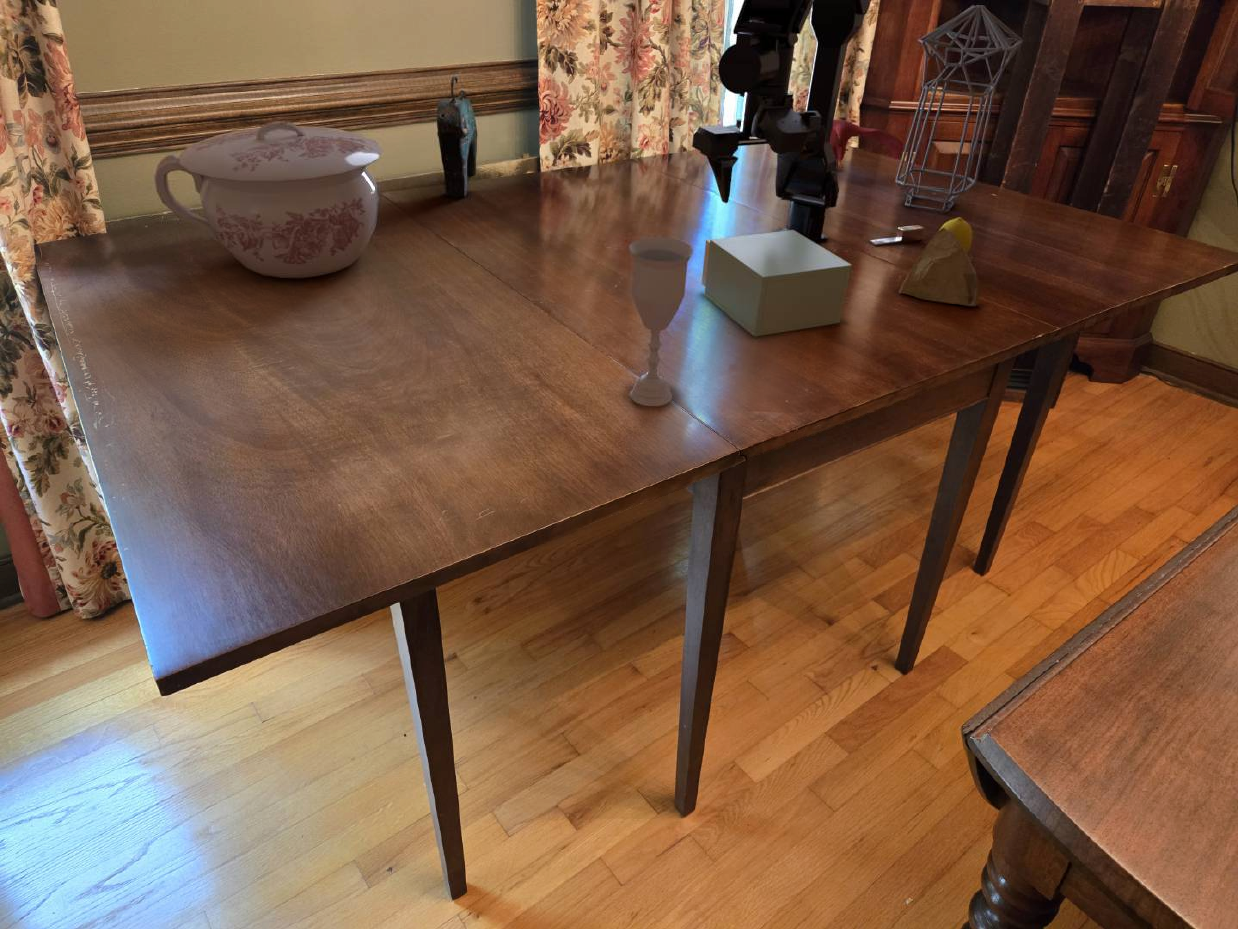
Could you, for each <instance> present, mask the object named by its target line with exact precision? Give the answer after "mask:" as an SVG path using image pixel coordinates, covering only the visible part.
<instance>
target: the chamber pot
mask: <svg viewBox="0 0 1238 929" xmlns="http://www.w3.org/2000/svg"><path fill="white" fill-rule="evenodd" d="M383 151H384V149H383V148H382V147H381V145H380V143H378V142H377V140H375V139H372V138H371V137H368V136H365V135H363V134H362V133H361V134H360V133H356V132H352V131H347V130H342V129H338V128H333V127H321V126H311V125H309V126H308V125H307V126H304V125H303V126H302V125H300V126H299V125H296V124H295V123H293V122H290V121H283V120H276V121H271V122H268V123H265V124H263V125H261V126H260V127H256V128H248V129H241V130H235V131H231V132H227V133H221V134H216V135H214V136H211V137H208V138H206V139H203V140H201V141H197V142H195V143H192V144H190V145H189V146H188V147H187V148H185V149H183V151H181V152H180V154H179V156H177V155H176V154H174V153H171V154H169V153H168V154H167V155H166V156H164V157H163V158H162V159H161V160H160V161H159V163H158V164H157V166H156V168H155V172H154V177H153V180H154V186H155V192H156V193H157V195H158V197H159V199H160V201H161V203H162V204H163V205H164V206H166V208H168V209H169V210H170V211H171V212H172V213H173V214H175V215H176V216H177V217H178V218H179V219H181V220H183V221H185V222H187V223H188V224H191V225H192V226H194V227H195V228H198V229H200V230H202V231H203V232H205V233H206V234H207V235H209V237H212V238H213V239H215V241H217V243H219V244H220V245H221V246H222V247H224V248H225V250H226V251H227V252H228V253H229V254H230V255H231V256H232V257H233V258H234V259H235V260H236V261H237V262H238V263H240V264H241V265H242V266H244V267H245V268H246V269H247V270H250V271H251V272H253V273H256V274H259V275H262V276H266V277H272V278H280V279H309V278H318V277H322V276H326V275H330V274H333V273H336V272H339V271H341V270H344V269H346V268H348V267H350V266H352V265H353V264H354V263H356V262H357V261H359V259H361V257H362V256H363V254H364V253H365V250H366V248H367V246H368V244H369V242H370V240H371V238H372V235H373V234H374V232H375V229H376V227H377V223H378V212H379V192H378V191H379V190H378V184H377V183H378V182H377V181H376V180H375V178H374V176H373V175H372V173H371V171H370V170H369V169H368V168H367V166H370V165H371V164H372V163H375V162H376V161H378V159H380V156H381V155H382V152H383ZM176 171H180V172H184V173H187V174H188V175H190V176H191V177H192V179H193V182H194V187H195V192H197V193H198V194H199V199H200V203H201V206H202V210H203V214H204V216H205V217H203V216H201V215H198V214H197V213H194V212H192V211H191V210H189V209H188V207H186V206H185V205H183V204H182V203H181V202H180V201H179V200H177V199H176V197H175V196H174V195H173V193H172V191H171V189H170V185H169V179H168V176H169V175H168V174H169V173H171V172H176Z"/></svg>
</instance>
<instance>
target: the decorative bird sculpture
mask: <svg viewBox="0 0 1238 929" xmlns="http://www.w3.org/2000/svg"><path fill="white" fill-rule="evenodd" d="M855 137H867V138H869V139H871V138H873V139H874V140H875V141H877V142H878V141H879V142H880V144H881V146H883V147H886V151H888V152H891V154H890V155H891V156H890V157H893V158H895V159H900V158H901V157H902V155H903V152H904V149H903V142H902V141H901V140H900V139H899V138H898V137H896V136H895V135H893V134H892V133H889V132H887V131H884V130H881V129H877V128H868V127H862V126H860V125H857V124H855V123H853V122H851V121H849V120H847V119H846V120H845V119H834V121H833V126H832V132H831V137H830V144H831V147H832V149H833V152H834V155H835V157H836V160H837V161H838V164H837V166H836V167H837V168H838V170H840V169H842V168H844V167H843V166H841V163H842V162H841V161H843V160H844V157H845V155H846V153H847V152H849V149H848V148H847V145H848V144H847V143H848V141H849V140H851V139H852V138H855Z"/></svg>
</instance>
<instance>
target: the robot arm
mask: <svg viewBox="0 0 1238 929" xmlns="http://www.w3.org/2000/svg"><path fill="white" fill-rule="evenodd" d="M871 1H872V0H743V2H742V5H741V7H740V10H739V13H738V15H737V19H736V22H735V24H734V27H733V31H732V33H733V35H736V39H735V43H734V44H732V45H730V46H729V47H728V48H726V49H725V51H724V52H723V54H722V55H721V58H720V60H719V61H718V67H717V70H718V71H717V72H718V77H719V80H720V83H721V84H722V86H723V87H724V88H725V89H726V91H728V92H730V93H732V94H736V95H739V97H742V98H744V99H743V108H742V115H741V118H740V119H736V123H735V128H736V129H739V131H734V130H732V129H730V128H727V127H725V126H723V125H721V124H714V125H713V124H712V125H698V127H697V128H696V130H695V131H694V132H693V135H692V144H691V147H692V148H693V149H696V150H697V151H699V153H700V154H701V155H703V156H705V157H706V158H707V161H708V164H709V165H710V167H711V170H712V173H713V176H714V179H715V183H716V186H717V189H718V192H719V196H720V199H721V200H720V201H721V202H722V203H724V204H728V203H729V200H730V195H731V186H732V177H733V168H734V166H735V164H736V163H737V162H738V160H739V157H737V156H735V155H734V154H735V153H737V151H738V150H739V147H744V146H757V145H769V148H770V150H771V151H772V152H773V153H775V154H776V166H775V186H774V188H775V196H776V197H777V198H780V200H781V201H789V205H788V214H787V219H786V220H787V221H786V226H785V227H782V228H778V231H777V232H780V231H789V230H794V231H796V232H798V233H799V234H801V235H803V236H804V237H806V238H808V239H809V240H811V241H813V242H814V243H815V242H821V241H828V238H829V237H828V236H827V235H826V234H824V233H823V230H824V226H825V220H826V210H828V209H829V208H836V207H837V202H838V199H839V193H840V187H839V182H838V177H837V172H836V171H835V170H836V164H837V159H836V157H835V155H834V152H833V149H832V147H831V144H830V137H831V132H832V126H833V121H834V120H835V116H836V110H837V104H838V99H839V94H840V88H841V82H842V77H843V71H844V66H845V63H846V62H845V60H846V55H847V51H848V46H849V43H850V42H851V40H852V39H853V38H854V37H855V35H856V34H857V33H858V32H859V30H860V29H861V28H862V26H863V23H864V19H865V15H866V14H867V13H868V11H869V9H870V6H871ZM809 15H810V17H809V24H810V26H811V29H812V33H813V35H814V38H815V40H816V47H815V54H814V60H813V66H812V71H811V72H812V73H811V77H810V83H809V89H808V96H807V101H806V106H805V107H806V108H805V111H804V112H796V111H795V110H794V103H795V102H794V93H790V92H789V89H790V88H789V87H790V81H791V74H792V68H793V60H794V53H795V45H796V44H797V43H798V42H799V36H798V35H800V34H801V32H802V30H803V28H804V26H805V23H806V21H807V19H808V16H809Z"/></svg>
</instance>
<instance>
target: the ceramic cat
mask: <svg viewBox="0 0 1238 929" xmlns="http://www.w3.org/2000/svg"><path fill="white" fill-rule="evenodd" d="M457 83H458V76H452V78H451V81H450V93H451V98H448V99H447V98H444V99H443V98H442V99H439V100H438V102H437V108H436V127H437V128H436V129H437V132H436V133H437V138H438V145H439V152H440V159H441V165H442V170H443V177H444V186H445V193H446V196H447V197H450V198H465V197H466V195H467V193H468V176H475V175H476V173H477V154H478V129H477V128H478V127H477V122H476V116H475V112H474V109H473V106H472V105H473V104H472V102H471V100H470V99H468V98H467V93H466V91H465V90H464V89H461V90H459V93H458V95H457V98H456V95H454V84H457ZM462 94H463V95H462Z"/></svg>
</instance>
